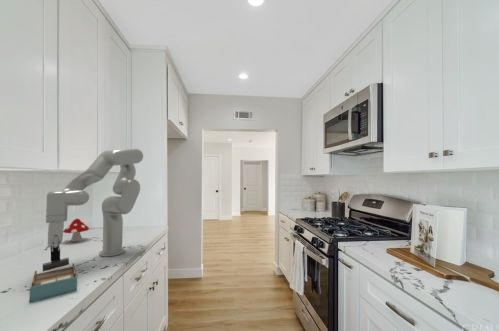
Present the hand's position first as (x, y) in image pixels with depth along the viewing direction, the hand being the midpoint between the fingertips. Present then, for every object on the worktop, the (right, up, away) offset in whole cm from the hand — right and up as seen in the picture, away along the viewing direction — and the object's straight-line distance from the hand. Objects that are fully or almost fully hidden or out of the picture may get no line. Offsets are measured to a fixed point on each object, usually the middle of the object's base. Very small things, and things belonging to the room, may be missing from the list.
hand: (55, 258), depth 104 cm
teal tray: (+15, -5, -18) cm, 24 cm away
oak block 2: (+15, -3, -14) cm, 21 cm away
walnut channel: (+7, -5, -9) cm, 13 cm away
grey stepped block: (0, -4, 0) cm, 4 cm away
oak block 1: (+12, -3, -17) cm, 21 cm away
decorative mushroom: (-26, -8, +48) cm, 55 cm away
